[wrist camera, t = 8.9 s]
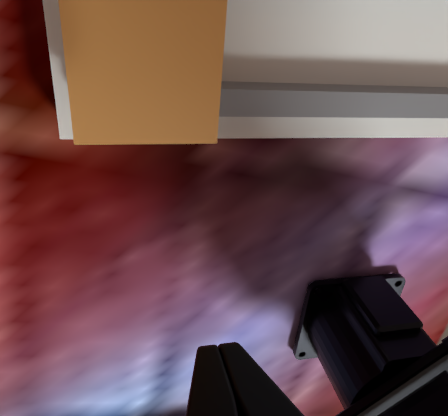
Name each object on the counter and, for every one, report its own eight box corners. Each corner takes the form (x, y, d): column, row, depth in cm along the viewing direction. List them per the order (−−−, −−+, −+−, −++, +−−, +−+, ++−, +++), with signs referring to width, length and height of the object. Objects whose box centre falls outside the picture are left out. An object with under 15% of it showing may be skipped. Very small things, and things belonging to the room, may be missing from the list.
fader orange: (194, 104, 16) (216, 143, 12) (84, 102, 15) (74, 145, 11) (201, -52, 13) (231, -57, 10) (69, -65, 12) (49, -77, 9)
